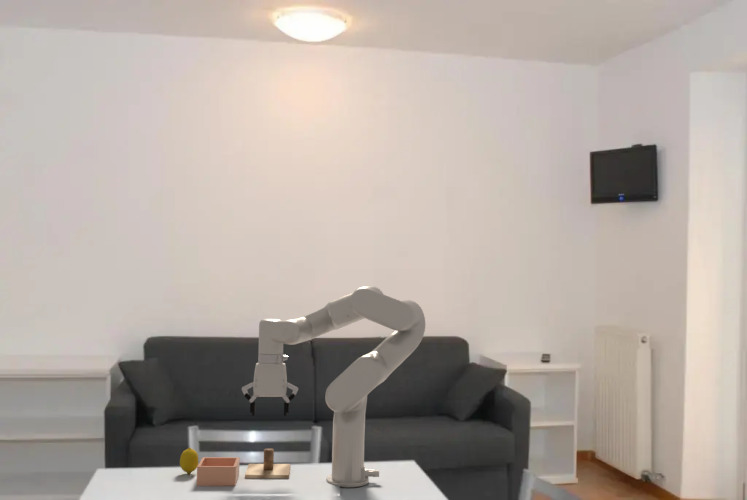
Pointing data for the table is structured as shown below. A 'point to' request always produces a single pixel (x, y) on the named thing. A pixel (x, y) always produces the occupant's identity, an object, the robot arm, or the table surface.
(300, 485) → the table surface
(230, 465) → the pink open box
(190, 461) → the lemon
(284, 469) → the lid
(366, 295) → the robot arm
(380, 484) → the table surface
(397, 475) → the table surface
